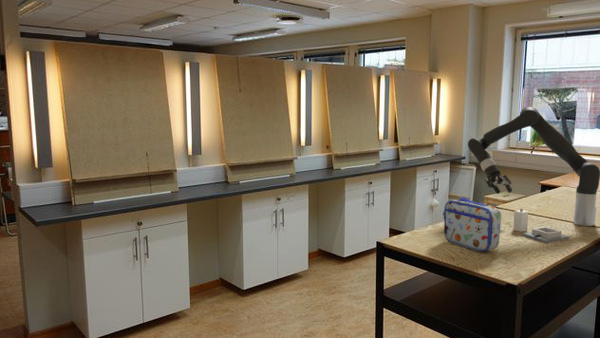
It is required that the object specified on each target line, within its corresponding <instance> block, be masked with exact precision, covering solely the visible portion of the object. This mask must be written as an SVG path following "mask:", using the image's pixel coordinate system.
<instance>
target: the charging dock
mask: <svg viewBox="0 0 600 338" xmlns="http://www.w3.org/2000/svg"><path fill="white" fill-rule="evenodd" d="M522 235H523V237H525V238H529V239H532V240H536V241H539V242H542V243H544V244H549V243H553V242H554V243H555V242H561V241H565V240H570V239H571V236H569V235H566V234H563V233H562V230H559V229H555V228H551V227H548V226H541V227H534V228H531V231H530V232H525V233H523V234H522Z"/></svg>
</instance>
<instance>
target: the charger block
mask: <svg viewBox="0 0 600 338" xmlns="http://www.w3.org/2000/svg"><path fill="white" fill-rule="evenodd" d="M513 214H514V215H513V225H512V227H513V228H512V230H514V231H517V232H521V233H522V232H527V231H528V223H529V211H528V210H524V209H523V208H520V209H518V210H514V213H513Z"/></svg>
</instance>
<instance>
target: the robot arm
mask: <svg viewBox="0 0 600 338" xmlns="http://www.w3.org/2000/svg"><path fill="white" fill-rule="evenodd" d="M528 127H531V128H532V130H533V131H535V132H536V133H537V134H538V135H539V137H540V138H541V140H542V141H543V143H544V144H545V145H546V146H547V147H548V149H550V150H551V151H552V152H553V153H554V154H555V155H556V156H558V157H559V158H560V159H562V160H563V161H564V162H565V163H567V164H568V165H569V166H570V168H571V169H572V170H573V171H574V172H575V174H576V175H577V176H578V177H579V181H578V185H577V187H576V189H575V190H576V191H575V203H574V214H573V224H575V225H578V226H583V227H592V226H594V225H595V224H596V223H595V222H596V211H597V207H596V203H597V193H598V189H599V185H600V168H599V167H598V165H596V164H593V163H592V162H590V161H588V160H587V159H585V158H584V157H583V156H582V155H581V154H579V152H578V151H577V149H576V148H575V147H574V146H573V144H572V142H570V141H569V140H568V138H566V137H565V136H564V135H563V134H562V133H561V132H560V131H559V130H557V128H555V127H554V126H553V125H551V124H550V123H549V122H548V121H547V120H546V119H545V118H544V117H543V116H542V114H541V113H540V112H539V111H538V110H537V109H536V108H535V107H533V106H526V107H523V108H522V109H521V111H520V112H519V115H518V116H516V117H515V118H513V119H512V120H510V121H508V122H506V123H504V124H501V125H498V126H497V127H494V128H492V129H491V130H489V131H487V132H486V133H483V137H482V138H481V139H478V138H477V137H473V138H470V139H469V140H468V141H467V146H468V147H467V148H468V149H469V150H470V152H471V153H472V154H473V155H474V157H475V158H476V159H477V161H478V164H479V165H480V167H481V170H482V171H483V172H484V175H485V176H486V177H485V178H484V181H485V183H486V184H487V186H488V187H489V188H492V189H493V191H494V192H495V193H496V194H497V195H499V194H500V193H501V190H500V189H499V187H498V185H501V186H503V187H505V189H506V190H507V192H508V193H509V194H510V193H511V192H512V191H513V188H512V187H511V184H512V181H511V180H510V178H509V177H508V175H506V174H504V175H501V169H499V167H498V165H497V164H496V162H495V160H494V159H493V158H492V156H491V155H490V153H489V151H487V149H488V147H490V146H492V144H495V143H496V142H498V141H500V140H501V139H503V138H506V137H507V136H509V135H511V134H513V133H515V132H517V131H520V130H522V129H526V128H528Z"/></svg>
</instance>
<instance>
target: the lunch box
mask: <svg viewBox="0 0 600 338" xmlns="http://www.w3.org/2000/svg"><path fill="white" fill-rule="evenodd" d="M477 202H478V201H472V200H470V199H468V198H467V197H465V196H462V197H459V199H452V200H448V201H446V203H445V205H444V211H443V212H442V216H443V220H444V221H443V227H444V228H443V234H444V238H445V239H446V241H448V242H449V243H451V244H454V245H456V244H457V245H456V246H459V245H460V247H463V248H466V249H470V250H474V251H477V252H487V251H490V250H495V249H497V248H498V246H499V243H500V236H501V234H500V233H501V225H502V224H501V223H502V213H501V211H500V210H499V209H498V208H496V207H495V206H493V205H488V204H486V203H485V204H484V203H481V202H479V203H477Z"/></svg>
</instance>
